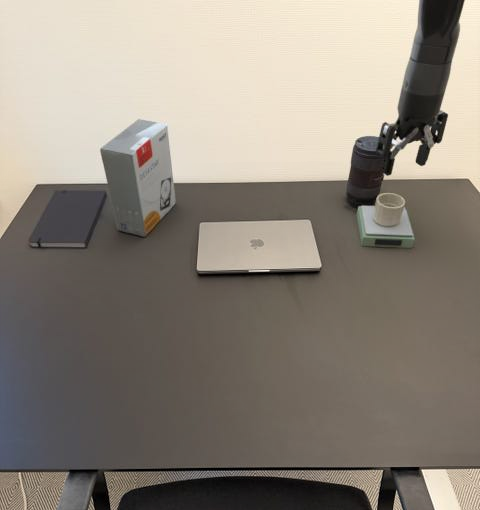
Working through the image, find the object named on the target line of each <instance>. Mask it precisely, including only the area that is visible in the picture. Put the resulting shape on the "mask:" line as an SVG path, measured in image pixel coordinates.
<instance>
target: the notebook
mask: <svg viewBox="0 0 480 510" xmlns="http://www.w3.org/2000/svg"><path fill="white" fill-rule="evenodd" d="M107 197H108V193H107V191H106V190H96V189H95V190H91V189H90V190H88V189H87V190H84V189H83V190H82V189H81V190H79V189H78V190H77V189H74V190H73V189H68V190H67V189H66V190H65V189H64V190H63V189H58V190H55V191H54V192H53V194H52V196H51V197H50V199H49V201H48V203H47V204H46V207H45V209H44V210H43V213H42V214H41V216H40V218H39V219H38V221H37V223H36V225H35V227H34V229H33V231H32V232H31V234H30V236H29V238H28V243H29V244H30V247H31V248H35V249H37V248H39V249H42V248H43V249H45V248H46V249H87V247H88V245H89V242H90V239H91V237H92V234H93V232H94V229H95V227H96V225H97V223H98V219H99V217H100V215H101V212H102V210H103V207H104V204H105V201H106V199H107Z"/></svg>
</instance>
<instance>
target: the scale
mask: <svg viewBox="0 0 480 510" xmlns="http://www.w3.org/2000/svg"><path fill="white" fill-rule="evenodd" d="M374 207H375V205H373V206H358V208H357V211H356V219H357V227H358V233H359V238H360V245H361V247H375V248H376V247H378V248H380V247H381V248H401V249H402V248H404V249H413V247H414V244H415V241H416V238H415V235H414V230H413V228H412V224H411V221H410V217H409V213H408V210H407V208H406V207H405V206H404V209H403V212H402V216H401V219H400V222H399V223H398V224H396V225H394V226H390V227H386V226H381V225H379V224H377V223H376V222H375V220H374V219H373V216H372V215H373V211H374Z"/></svg>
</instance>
